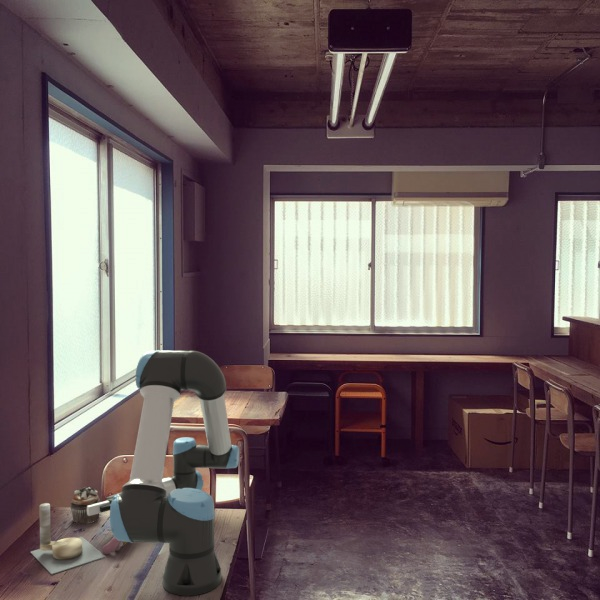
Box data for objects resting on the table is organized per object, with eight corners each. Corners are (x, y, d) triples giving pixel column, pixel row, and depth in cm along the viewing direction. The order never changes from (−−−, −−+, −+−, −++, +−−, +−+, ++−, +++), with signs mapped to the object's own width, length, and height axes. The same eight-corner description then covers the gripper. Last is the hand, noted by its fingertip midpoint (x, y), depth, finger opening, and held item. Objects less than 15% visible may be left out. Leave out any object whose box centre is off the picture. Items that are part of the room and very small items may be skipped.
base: (105, 557, 173) (105, 555, 173) (51, 574, 163) (51, 573, 163) (81, 537, 186) (81, 536, 186) (30, 552, 176) (30, 551, 176)
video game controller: (112, 561, 174) (122, 540, 173) (99, 553, 175) (109, 532, 174) (128, 545, 184) (138, 526, 183) (116, 537, 184) (125, 518, 183)
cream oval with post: (87, 547, 178) (86, 500, 177) (74, 560, 170) (74, 511, 169) (47, 545, 179) (46, 499, 178) (33, 558, 171) (32, 510, 170)
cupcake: (63, 521, 197) (63, 491, 197) (87, 510, 206) (86, 481, 205) (84, 527, 193) (84, 496, 192) (107, 516, 201) (107, 486, 201)
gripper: (168, 509, 195) (97, 530, 179) (149, 497, 204) (79, 516, 189) (168, 486, 194) (96, 504, 179) (148, 475, 204) (79, 492, 188)
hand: (88, 510), depth 184 cm, fingers closed
